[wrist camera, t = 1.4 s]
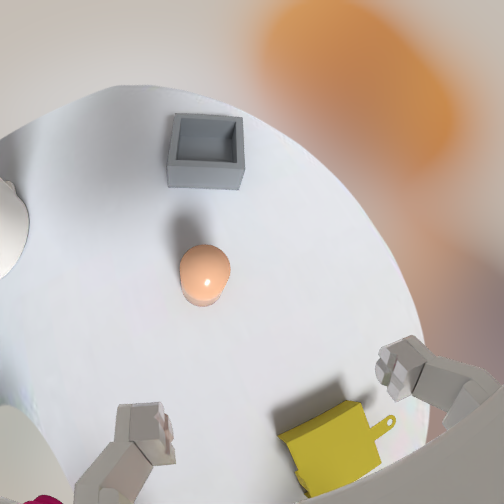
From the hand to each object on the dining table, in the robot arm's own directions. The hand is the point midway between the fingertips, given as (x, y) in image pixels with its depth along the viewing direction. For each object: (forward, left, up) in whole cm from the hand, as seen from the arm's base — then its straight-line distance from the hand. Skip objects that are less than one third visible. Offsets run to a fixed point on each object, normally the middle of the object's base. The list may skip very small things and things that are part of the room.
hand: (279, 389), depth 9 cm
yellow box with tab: (+15, -12, -26) cm, 32 cm away
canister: (-1, +10, -25) cm, 27 cm away
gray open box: (-1, +29, -25) cm, 38 cm away
